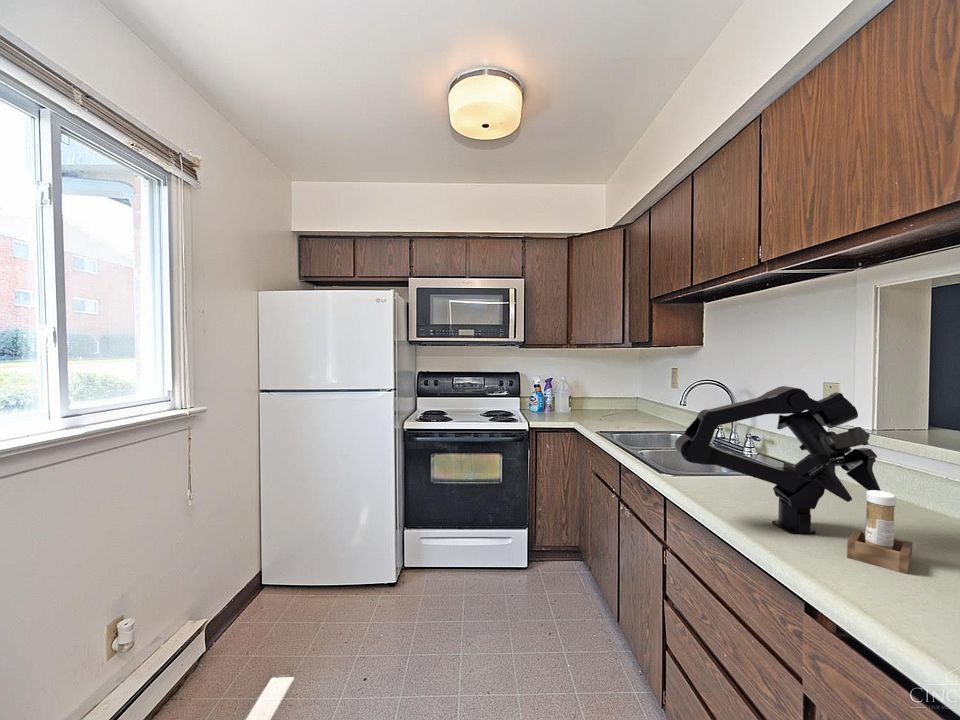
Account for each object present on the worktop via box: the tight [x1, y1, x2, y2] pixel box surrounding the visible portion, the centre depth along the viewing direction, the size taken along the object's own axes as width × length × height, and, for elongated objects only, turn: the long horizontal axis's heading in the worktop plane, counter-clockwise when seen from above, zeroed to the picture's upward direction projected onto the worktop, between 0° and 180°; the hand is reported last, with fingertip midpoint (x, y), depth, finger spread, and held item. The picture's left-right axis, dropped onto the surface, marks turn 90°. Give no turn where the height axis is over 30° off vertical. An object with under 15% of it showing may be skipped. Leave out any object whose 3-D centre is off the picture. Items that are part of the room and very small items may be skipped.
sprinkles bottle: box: [864, 490, 897, 550], centre depth 91 cm, size 5×5×13 cm
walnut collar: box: [846, 528, 914, 575], centre depth 92 cm, size 9×9×4 cm
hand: (865, 498), depth 94 cm, fingers open, 9 cm apart
